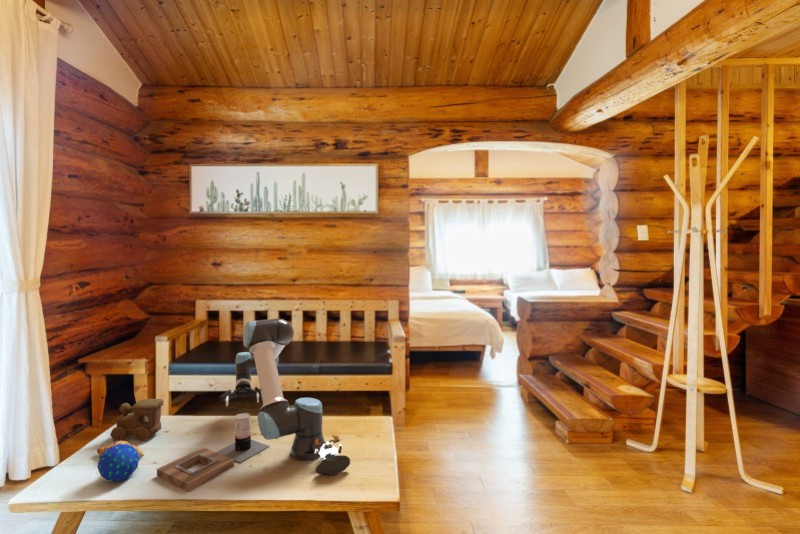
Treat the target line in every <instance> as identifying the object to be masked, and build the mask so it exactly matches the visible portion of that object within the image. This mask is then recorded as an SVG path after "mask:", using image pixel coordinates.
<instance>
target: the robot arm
mask: <svg viewBox="0 0 800 534" xmlns="http://www.w3.org/2000/svg"><path fill="white" fill-rule="evenodd" d="M242 335H243V336H242V342H243V343H242V344H243V346H244V347H245V348H248V351H243V352H238V353H236V355H235V363H234V364H235V389H233V390H232V389H228V390H227V391H226V392H225V393H223V394H221V395H220V396H219V401H220V402H223V403H224V404H225V407H229V401H230V400H232V399H235V398H239V397H240V398H244V397H255V398H256V401H257V402H256V403H260V399H261V401H262V405H261V407H260V412H259V413H258V414H257V425H258V429H259V432H260V434H261V435H262V437H263V438H264V439H265V440H268V441H270V440H271V441H272V440H278V439H279V438H282V437H283V438H284V437H286V436H290V435H291V436H292V435H293V434H295V435H294V439H293V441H292V444H291V448H290V449H291V450H290V454H291V456H292V457H293V458H294V459H296V460H299V461H311V460H315V459H318V458H317V455H316V453H315V449H316V451H317V449H318V453H319V451H320V448H321V447H322V446H320V447H316V446H313V445H314V443H315V442H314V440H316V439H319V438H320V439H319V443H321V442H326V441H325V438H324V434H323V413H324V412H323V404H322V402H321V401H320V400H319V399H317V398H315V397H314V398H313V397H300V398H297V399H296V400H295V402H294V404H293V405H290V403H289V401H288V400H287V399H286V398H284V394H283V390H282V385H281V379H280V376H279V375H280V374H279V372H278V367H277V366H278V365H279V361H280V360H279V359H280V358H279V355H280V354H281V352H282V351H283V350H284V348H285V347H286V345H289V344H290V343H291V342H292V340H293V339H294V335H295V331H294V328H293V326H292V324H291V323H290V322H289V321H287V320H285V319H283V318H269V319H261V320H260V319H259V320H252V321H251V320H250V321H247V322H246V323H245V324H244V328H243V334H242ZM252 370H256V373H257V379H258V383H259V387H258V386H255V387H254V388H252ZM323 444H324V443H322V444H321V445H323Z"/></svg>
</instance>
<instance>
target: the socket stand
mask: <svg viewBox="0 0 800 534" xmlns="http://www.w3.org/2000/svg"><path fill="white" fill-rule="evenodd" d="M216 452H217V451H213V450H211V449H209V448H206V447H204V446H203V447H201V448H199V449H197V450H194V451H192V452H190V453H188V454H186V455H183V456H182V457H179V458H177V459H175V460H173V461H171V462H169V463H166V464H164V465H162V466H160V467H158V468H156V477H157V476H158V477H157V478H159V477H160V478H159V479H161V478H162V479H161V480H163V479H164V481H165V480H166V482H167V481H168V482H167V483H169V482H170V483H169V484H171V483H172V485H174V486H175V487H177V488H179V489H181V490H183V491H186V492H191V491H192V490H195V489H196V488H199V487H200V486H201V485H203V484H205V483H207V482H209V481H211V480H212V479H215V478H216V477H218V476H220V475H222V474H224V473H225V472H227V471H229V470H230V469H233V468H235V467H234V466H235V461H234V459H231V458H229V457H226V456H224V455H221V454H219V453H216ZM198 464H202V465H203V466H202V467H199V468H197V469H196V470H193V471H191V470H189V469H190V468H192V467H194V466H196V465H198Z"/></svg>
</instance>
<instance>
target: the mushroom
mask: <svg viewBox="0 0 800 534" xmlns="http://www.w3.org/2000/svg"><path fill="white" fill-rule="evenodd" d="M131 445H132V444H131ZM131 445H129V444H117V445H115V446H112V447H110V448H108V449H106V451H105V452H104V453H103V454H102V455H101V456H100V455H99V458H98V463H97V470H98V473H99V475H100V477H102V478H103V479H105V480H107V481H108V482H111V483H112V482H116V483H117V482H118V483H120V482H123V481H124V480H127V479H128V478H130V477H131V476H132V475H133V473H134V472H135V471H136V470H137V468H138V466H139V461H140V458H139V454H138V452H137V449H135V448H134V447H133V446H131Z"/></svg>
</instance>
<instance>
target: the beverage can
mask: <svg viewBox="0 0 800 534" xmlns="http://www.w3.org/2000/svg"><path fill="white" fill-rule="evenodd" d="M251 418H252V416H251V414H250V413H248V412H243V413H238V414H236V415H235V416H234V443H235V450H236V451H237V452H245V451H248V450H249V449H250V448H251V440H252V438H251V437H252V432H251V431H252V430H251V429H252V427H251V426H252V425H251V423H252V422H251V420H252V419H251Z"/></svg>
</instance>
